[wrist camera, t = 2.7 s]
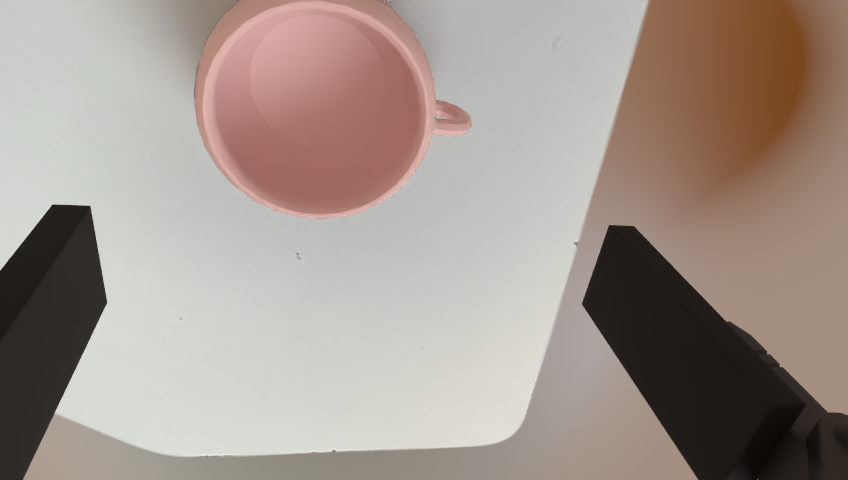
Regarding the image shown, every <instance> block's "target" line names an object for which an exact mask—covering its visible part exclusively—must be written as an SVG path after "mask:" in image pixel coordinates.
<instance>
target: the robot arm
mask: <svg viewBox="0 0 848 480" xmlns="http://www.w3.org/2000/svg"><path fill="white" fill-rule="evenodd" d="M106 304H107V299H106V293H105V288H104V282H103V276H102V271H101V265H100V259H99V253H98V248H97V242H96V236H95V230H94V225H93V219H92V213H91V207H90V206H78V205H52V206H51V207H50V209H49V210H48V211H47V212H46V214H45V215H44V216H43V218H42V219H41V220H40V221H39V223H38V224H37V225H36V226H35V228H34V229H33V230H32V231H31V233H30V234H29V235H28V236H27V238H26V239H25V240H24V241H23V243H22V244H21V245H20V247H19V248H18V249H17V250H16V252H15V253H14V254H13V255H12V257H11V258H10V259H9V260H8V262H7V263H6V264H5V265H4V267H3V268H2V269H1V270H0V480H23V478H24V476H25V474H26V472H27V470H28V468H29V465H30V463H31V461H32V459H33V457H34V455H35V453H36V451H37V449H38V446H39V444H40V442H41V440H42V438H43V436H44V434H45V432H46V430H47V428H48V426H49V423H50V421H51V419H52V417H53V415H54V413H55V411H56V409H57V407H58V405H59V402H60V400H61V398H62V396H63V394H64V392H65V390H66V388H67V386H68V384H69V381H70V379H71V377H72V375H73V373H74V371H75V369H76V367H77V365H78V363H79V360H80V358H81V356H82V354H83V352H84V350H85V348H86V346H87V344H88V342H89V339H90V337H91V335H92V333H93V331H94V329H95V327H96V325H97V323H98V321H99V318H100V316H101V314H102V312H103V310H104V308H105V306H106ZM582 305H583V307H584V308H585V309H586V311H587V312H588V314H589V315H590V317H591V318H592V320H593V322H594V323H595V325H596V326H597V328H598V329H599V331H600V332H601V334H602V335H603V337H604V338H605V340H606V341H607V343H608V344H609V345H610V347H611V349H612V350H613V352H614V353H615V355H616V356H617V358H618V359H619V361H620V362H621V364H622V365H623V367H624V368H625V370H626V371H627V372H628V374H629V376H630V377H631V379H632V380H633V382H634V383H635V385H636V386H637V388H638V389H639V391H640V392H641V394H642V395H643V397H644V398H645V400H646V401H647V403H648V404H649V406H650V407H651V409H652V410H653V412H654V413H655V415H656V416H657V418H658V419H659V421H660V423H661V424H662V426H663V427H664V429H665V430H666V432H667V433H668V435H669V436H670V438H671V439H672V441H673V442H674V443H675V445H676V447H677V448H678V450H679V451H680V452H681V454H682V456H683V457H684V459H685V460H686V462H687V463H688V465H689V466H690V468H691V469H692V471H693V472H694V474H695V475H696V477H697V478H698V480H757V479H758V480H848V415H845V414H842V413H828V412H827V411H826V410H825V409H824V408H823V407H822V406H821V405H820V404H819V403H818V402H817V401H816V400H815V399H814V398H813V397H812V396H811V395H810V394H809V393H808V392H807V391H806V390H805V389H804V388H803V387H802V386H801V385H800V384H799V383H798V382H797V381H796V380H795V379H794V378H793V377H792V376H791V375H790V374H789V373H788V372H787V371H786V370H785V369H784V368H783V367H780V366H779V363H778V362H777V361H776V360H775V359H774V358H773V357H772V356H771V355H770V354H767V351H766V350H765V349H764V348H763V347H762V346H761V345H760V344H759V343H758V342H757V341H756V340H755V339H754V338H753V337H752V336H751V335H750V334H748V333H747V332H745V331H744V330H742V329H741V328H739V327H738V326H736V325H734V324H733V323H731V322H726V321H725V320H724V319H723V318H722V317H721V316H720V315H719V314H718V313H717V312H716V311H715V310H714V309H713V308H712V306H710V304H709V303H708V302H707V301H706V300H705V299H704V298H703V297H702V296H701V295H700V294H699V293H698V292H697V291H696V290H695V289H694V288H693V287H692V286H691V285H690V284H689V283H688V282H687V281H686V280H685V279H684V278H683V277H682V276H681V275H680V274H679V272H677V271H676V269H675V268H674V267H673V266H672V265H671V264H670V263H669V262H668V261H667V260H666V259H665V258H664V257H663V256H662V255H661V254H660V253H659V252H658V251H657V250H656V249H655V248H654V247H653V246H652V245H651V244H650V242H649V241H647V239H646V238H645V237H643V235H642V234H641V233H640V232H639V231H638V230H637V229H636V228H635V227H634V226H616V225H610V226H609V227H608V230H607V233H606V236H605V239H604V242H603V244H602V248H601V250H600V254H599V256H598V259H597V262H596V265H595V268H594V271H593V274H592V277H591V279H590V282H589V285H588V288H587V291H586V294H585V297H584V300H583V303H582Z"/></svg>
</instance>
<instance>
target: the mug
mask: <svg viewBox="0 0 848 480" xmlns="http://www.w3.org/2000/svg"><path fill="white" fill-rule="evenodd" d="M194 99H195V108H196V117H197V125H198V127H199V130H200V133H201V136H202V139H203V142H204V145H205V148H206V149H207V151H208V153H209V154H210V156H211V157H212V159H213V161H214V162H215V164H216V166H217V167H218V169H219V170H220V171H221V172H222V173H223V174H224V175H225V176H226V178H227V179H228V180H229V181H230V182H231V183H232V184H233V185H234V186H235V187H236V188H238V189H239V190H240V191H242V192H243V193H244V194H246V195H247V196H248V197H250V198H251V199H252V200H254V201H256V202H258V203H260V204H262V205H264V206H266V207H268V208H270V209H272V210H275V211H278V212H282V213H285V214H289V215H292V216H296V217H305V218H316V219H324V218H335V217H344V216H347V215H351V214H354V213H358V212H362V211H365V210H367V209H369V208H371V207H373V206H375V205H377V204H379V203H381V202H383V201H384V200H386V199H387V198H388V197H390V196H391V195H392V194H394V193H395V192H396V191H398V190H399V189H400V188H401V187H402V186H403V185H404V184H405V183H406V182H407V181H408V179H409V178H410V177H411V176H412V175H413V174H414V173H415V172H416V170H417V168H418V166H419V165H420V163H421V161H422V160H423V158H424V156H425V154H426V153H427V150H428V147H429V144H430V141H431V138H432V135H434V134H438V135H442V136H461V135H464V134H466V133H467V131H468V130H469V129H470V128H471V125H472V124H471V118H470V115H469V114H468V113H467V112H465V111H464V110H462V109H461V108H459V107H457V106H455V105H453V104H450V103H448V102H444V101H439V100H436V97H435V87H434V79H433V76H432V73H431V70H430V67H429V64H428V61H427V58H426V55H425V53H424V50H423V49H422V47H421V45H420V44H419V42H418V40H417V38H416V37H415V35H414V33H413V32H412V30H411V29H410V28H409V26H408V25H407V24H406V23H405V22H404V21H403V20H402V19H401V18H400V17H399V15H398V14H397V13H396V12H395V11H394V10H393V9H392V8H391V7H390V6H389V5H387V4H386V3H384V2H383V1H382V0H240V1H239V2H238V3H237V4H236V5H234V6H233V7H232V8H231V9H230V10H229V11H228V12H227V13H226V14H225V15H224V16H223V17H222V18H221V20H220V21H219V23H218V24H217V26H216V27H215V29H214V30H213V32H212V33H211V35H210V36H209V37H208V39H207V42H206V44H205V47H204V50H203V53H202V55H201V58H200V61H199V64H198V66H197V71H196V80H195V88H194ZM435 116H440V117H444V118H446V119H437V118H436V117H435ZM448 119H449V120H448Z"/></svg>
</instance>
